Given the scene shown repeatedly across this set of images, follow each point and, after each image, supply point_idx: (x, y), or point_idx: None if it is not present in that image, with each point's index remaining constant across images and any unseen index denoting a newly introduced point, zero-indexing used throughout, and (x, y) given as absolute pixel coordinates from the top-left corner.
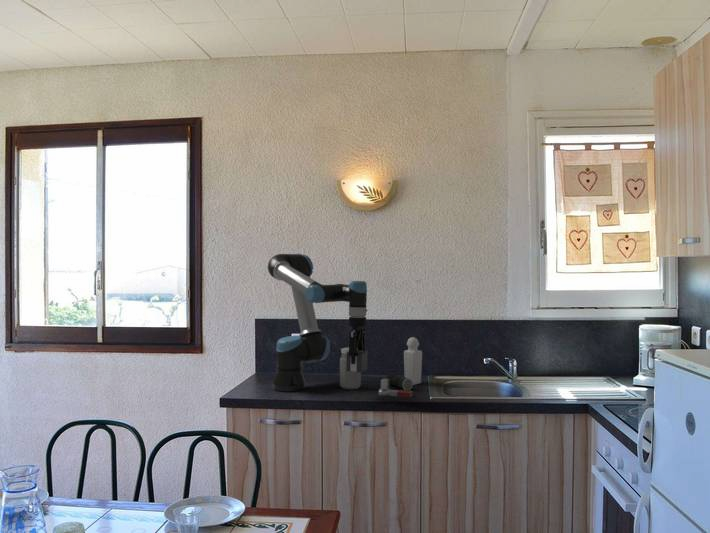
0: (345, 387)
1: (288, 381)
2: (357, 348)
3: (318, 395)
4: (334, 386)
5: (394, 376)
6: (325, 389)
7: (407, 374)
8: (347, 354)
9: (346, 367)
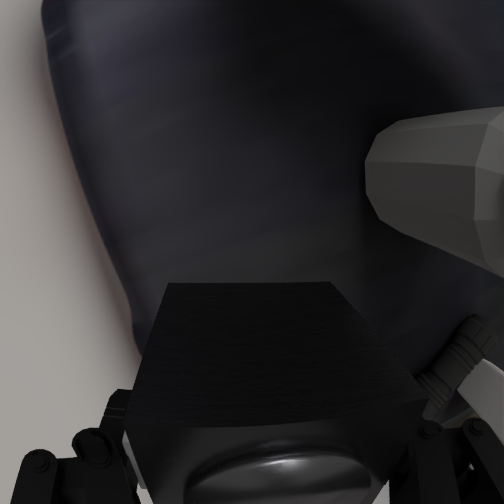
0: (365, 163)
1: None
2: (415, 472)
3: (182, 65)
4: (400, 90)
5: (466, 367)
6: (327, 58)
7: (489, 384)
8: (132, 411)
9: (436, 175)
